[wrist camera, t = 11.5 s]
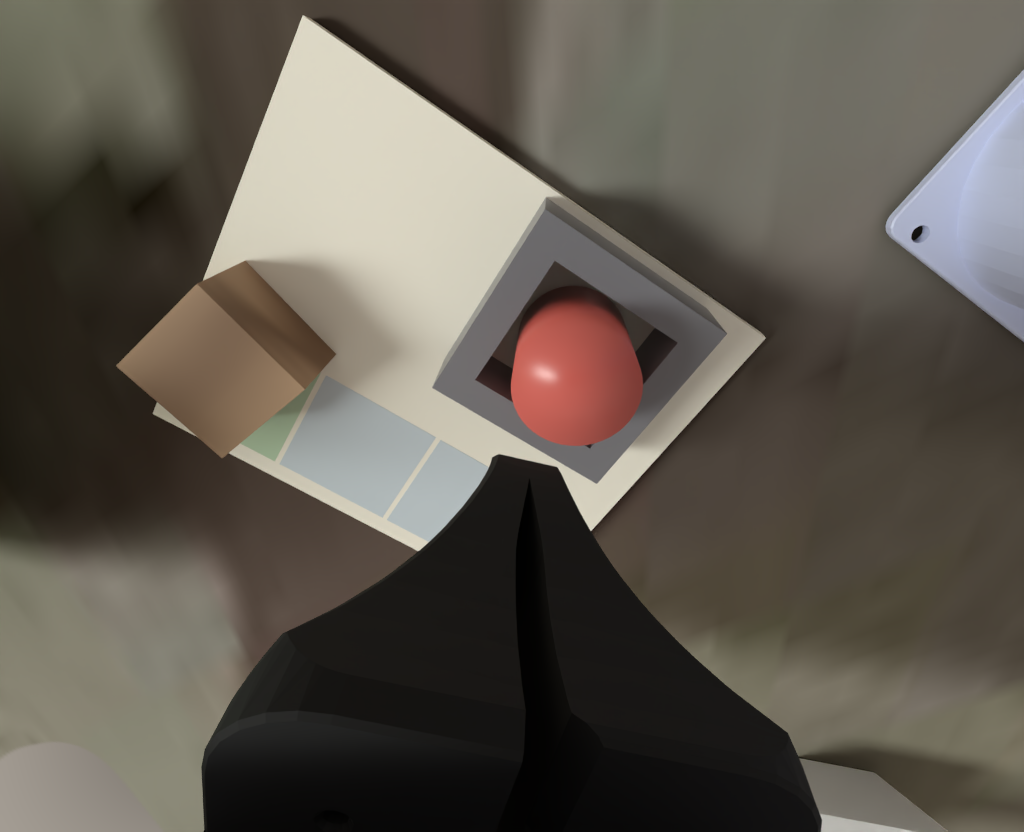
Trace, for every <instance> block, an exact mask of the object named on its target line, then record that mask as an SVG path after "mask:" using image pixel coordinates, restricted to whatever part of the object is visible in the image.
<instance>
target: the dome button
mask: <svg viewBox="0 0 1024 832" xmlns="http://www.w3.org/2000/svg"><path fill="white" fill-rule="evenodd" d="M642 391H643V377H642V372H641V368H640V366H639V363H638V360H637V357H636V354H635V351H634V348H633V345H632V343H631V340H630V337H629V334H628V331H627V328H626V325H625V322H624V320H623V317H622V315H621V313H620V311H619V309H618V308H617V307H616V305H615V304H614V303H613V302H612V301H611V300H610V299H609V298H608V297H606V296H605V295H604V294H602V293H600V292H598V291H596V290H594V289H591V288H587V287H582V286H565V287H560V288H556V289H553V290H551V291H549V292H547V293H545V294H543V295H542V296H540V297H539V298H538V299H536V300H535V301H534V302H533V303H532V304H531V305H530V307H529V308H528V309H527V311H526V312H525V314H524V316H523V318H522V321H521V323H520V327H519V332H518V339H517V346H516V352H515V359H514V366H513V372H512V379H511V395H512V401H513V404H514V407H515V409H516V411H517V413H518V415H519V417H520V418H521V420H522V421H523V422H524V423H525V425H526V426H527V427H528V428H529V429H531V430H532V431H533V432H534V433H536V434H537V435H539V436H540V437H542V438H544V439H546V440H548V441H551V442H554V443H557V444H561V445H569V446H582V445H589V444H594V443H597V442H600V441H603V440H605V439H607V438H609V437H611V436H613V435H614V434H616V433H617V432H619V431H620V430H621V429H622V428H624V426H625V425H626V424H627V423H628V422H629V421H630V420H631V418H632V417H633V416H634V414H635V412H636V410H637V409H638V406H639V404H640V401H641V397H642Z"/></svg>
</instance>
